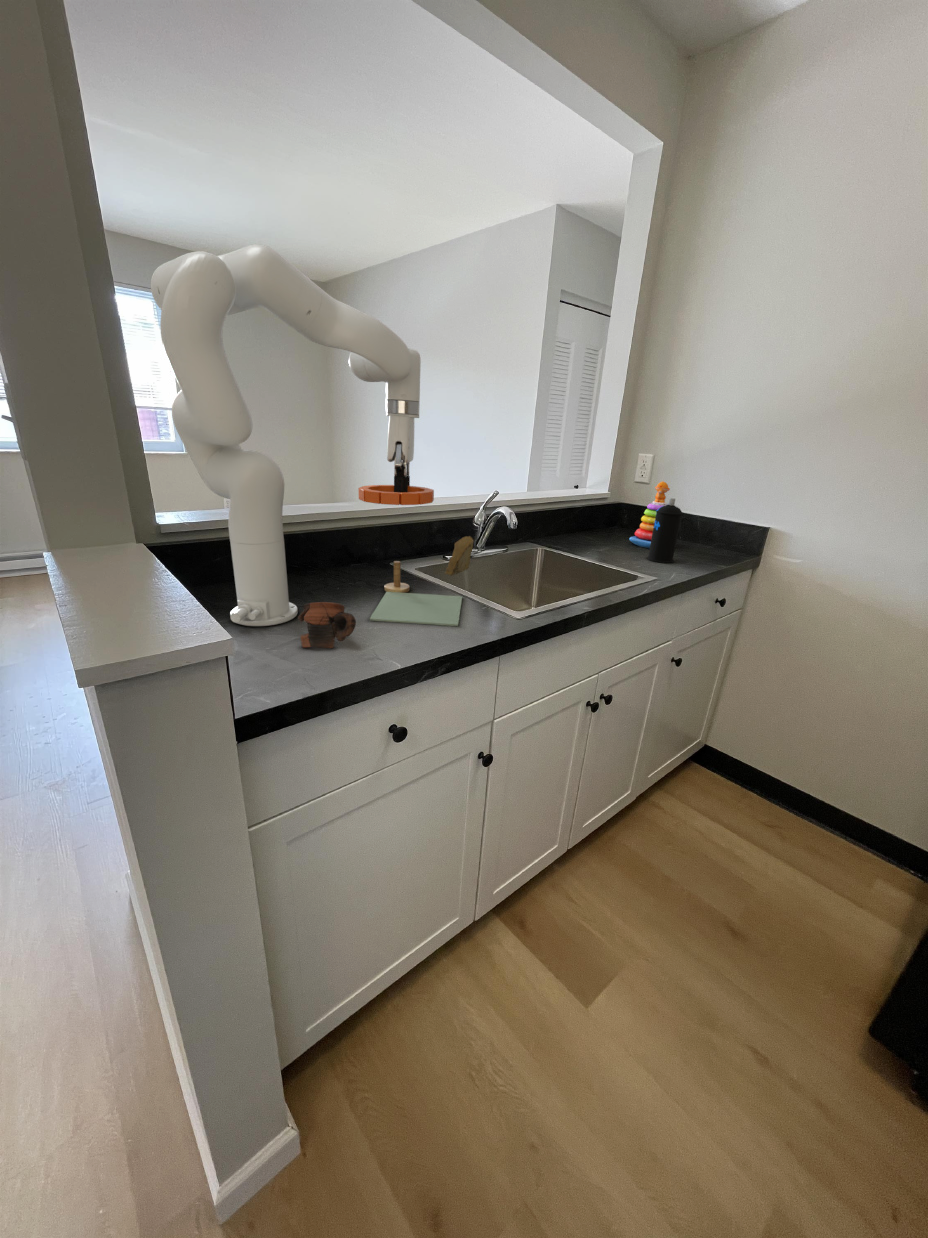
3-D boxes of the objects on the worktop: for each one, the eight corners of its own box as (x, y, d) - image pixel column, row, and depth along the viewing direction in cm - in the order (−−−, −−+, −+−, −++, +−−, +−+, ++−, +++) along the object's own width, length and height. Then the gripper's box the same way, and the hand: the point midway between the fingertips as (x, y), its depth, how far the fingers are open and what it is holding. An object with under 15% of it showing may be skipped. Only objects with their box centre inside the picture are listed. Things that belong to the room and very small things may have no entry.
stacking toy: (675, 546, 185) (688, 482, 177) (661, 551, 176) (674, 483, 168) (641, 540, 194) (652, 478, 185) (626, 544, 185) (637, 479, 176)
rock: (455, 571, 129) (484, 561, 135) (441, 541, 130) (471, 533, 135) (438, 585, 139) (466, 576, 144) (426, 558, 139) (454, 550, 145)
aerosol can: (675, 560, 165) (688, 498, 158) (670, 564, 158) (683, 501, 151) (650, 555, 169) (661, 495, 162) (644, 560, 162) (655, 497, 155)
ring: (428, 506, 104) (429, 494, 103) (351, 502, 104) (351, 490, 104) (436, 497, 119) (436, 487, 119) (368, 493, 120) (368, 483, 119)
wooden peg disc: (407, 594, 117) (407, 565, 114) (382, 592, 117) (382, 564, 115) (411, 587, 122) (411, 559, 120) (387, 585, 123) (387, 557, 120)
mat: (458, 626, 100) (458, 624, 100) (369, 620, 100) (369, 618, 100) (462, 597, 117) (462, 596, 116) (386, 593, 117) (386, 591, 117)
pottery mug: (284, 648, 87) (286, 602, 88) (320, 653, 95) (321, 611, 97) (341, 645, 82) (342, 596, 84) (373, 650, 91) (373, 606, 92)
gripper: (392, 410, 119) (392, 488, 126) (379, 407, 105) (379, 496, 111) (423, 412, 119) (421, 490, 126) (414, 409, 104) (412, 498, 111)
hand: (401, 492), depth 118 cm, fingers closed on ring, 2 cm apart
